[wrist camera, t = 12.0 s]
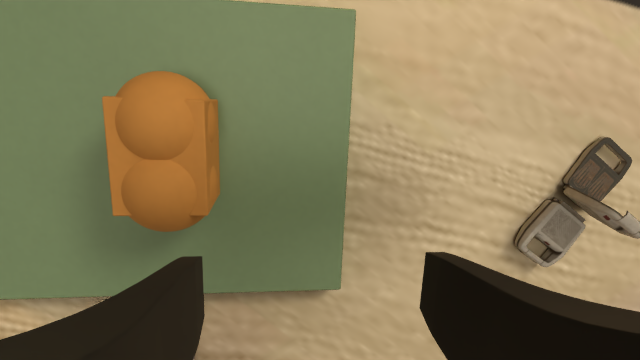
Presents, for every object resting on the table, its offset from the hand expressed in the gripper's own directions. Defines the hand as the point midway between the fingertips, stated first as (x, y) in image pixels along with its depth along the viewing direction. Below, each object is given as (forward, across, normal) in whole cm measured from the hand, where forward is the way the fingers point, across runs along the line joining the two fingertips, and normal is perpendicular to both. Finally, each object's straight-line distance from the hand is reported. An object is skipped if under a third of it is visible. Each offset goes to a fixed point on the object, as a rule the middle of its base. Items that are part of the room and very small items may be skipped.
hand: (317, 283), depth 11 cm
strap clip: (+10, -17, 0) cm, 20 cm away
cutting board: (+9, +8, -2) cm, 12 cm away
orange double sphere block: (+8, +6, -3) cm, 11 cm away
